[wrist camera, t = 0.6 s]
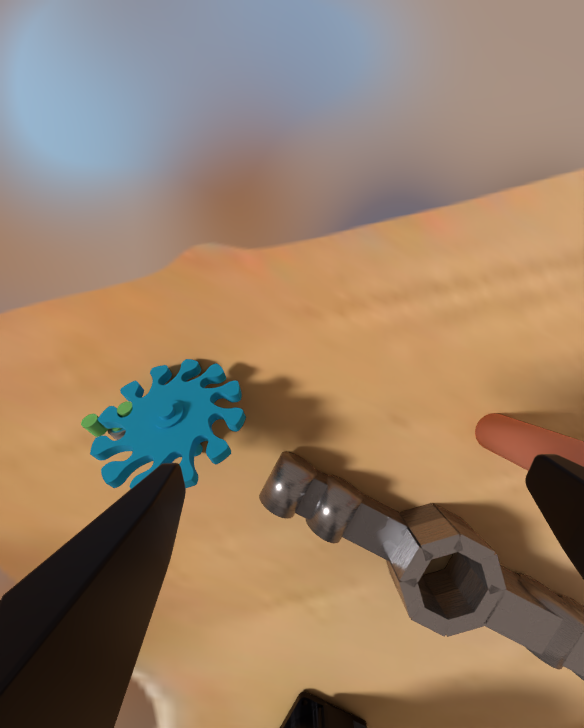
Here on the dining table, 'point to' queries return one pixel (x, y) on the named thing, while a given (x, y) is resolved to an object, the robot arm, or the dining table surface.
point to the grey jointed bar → (415, 551)
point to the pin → (525, 441)
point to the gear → (166, 423)
